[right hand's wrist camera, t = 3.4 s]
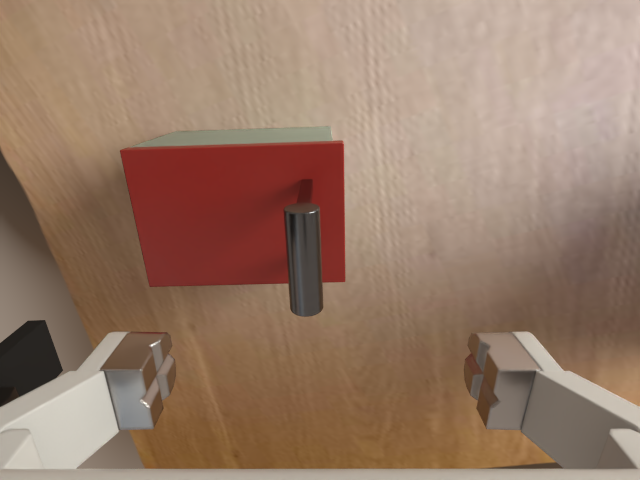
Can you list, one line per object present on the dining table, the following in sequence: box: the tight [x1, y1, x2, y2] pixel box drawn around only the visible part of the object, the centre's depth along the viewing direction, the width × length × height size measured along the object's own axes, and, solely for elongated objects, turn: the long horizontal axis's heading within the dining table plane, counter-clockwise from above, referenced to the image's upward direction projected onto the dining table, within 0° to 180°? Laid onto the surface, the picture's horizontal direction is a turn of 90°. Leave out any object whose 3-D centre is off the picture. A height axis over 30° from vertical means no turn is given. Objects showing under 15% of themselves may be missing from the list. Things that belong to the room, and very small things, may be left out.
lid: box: [120, 141, 345, 316], centre depth 23 cm, size 14×10×8 cm
